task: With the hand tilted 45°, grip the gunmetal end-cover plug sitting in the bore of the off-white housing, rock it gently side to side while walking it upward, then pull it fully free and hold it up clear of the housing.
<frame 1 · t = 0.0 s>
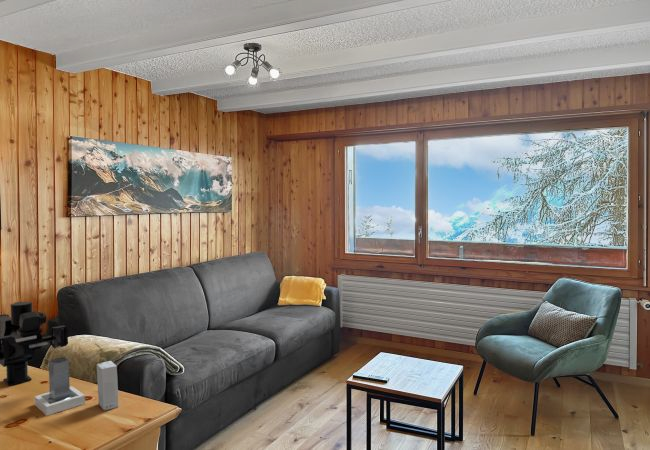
hand: (42, 348, 133), 17 cm above the table, tool horizontal, fingers open, 9 cm apart
end cover: (59, 382, 133), in the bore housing
skincare box: (107, 406, 133), on the table
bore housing: (59, 404, 133), on the table
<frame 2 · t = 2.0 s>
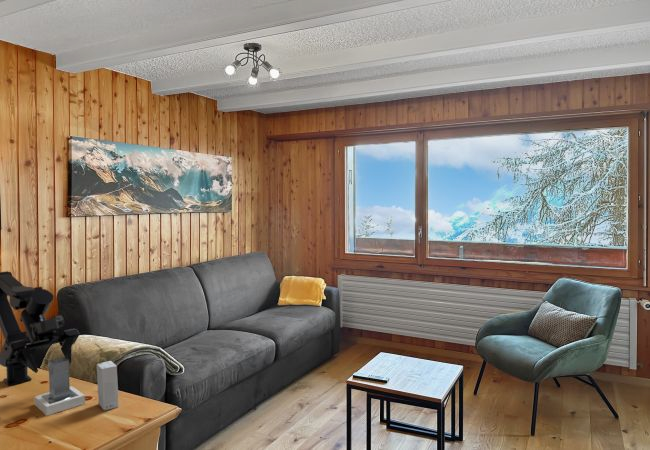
hand: (54, 367, 135), 10 cm above the table, tool tilted 45°, fingers open, 9 cm apart
nothing on the table moved.
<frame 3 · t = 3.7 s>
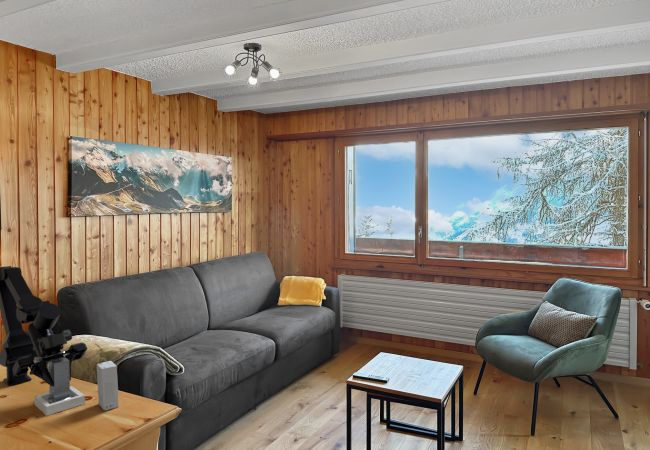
hand: (61, 383, 132), 7 cm above the table, tool tilted 45°, fingers closed on end cover, 4 cm apart
end cover: (59, 382, 133), in the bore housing, touching gripper
everything else where it was.
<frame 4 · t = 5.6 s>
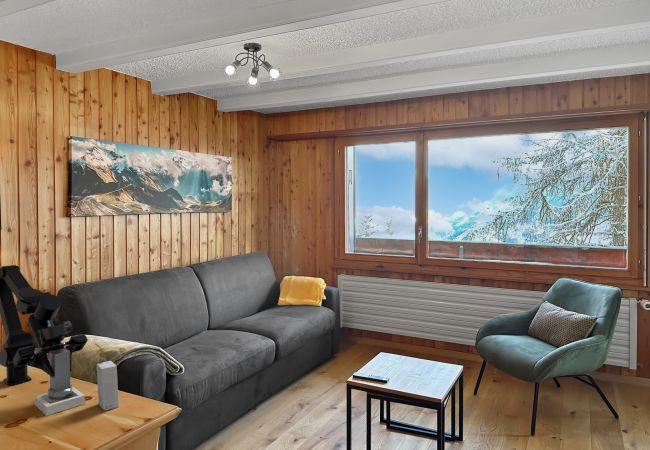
hand: (62, 374, 132), 9 cm above the table, tool tilted 45°, fingers closed on end cover, 4 cm apart
end cover: (60, 373, 133), point 9 cm above the table, touching gripper
everything else where it was.
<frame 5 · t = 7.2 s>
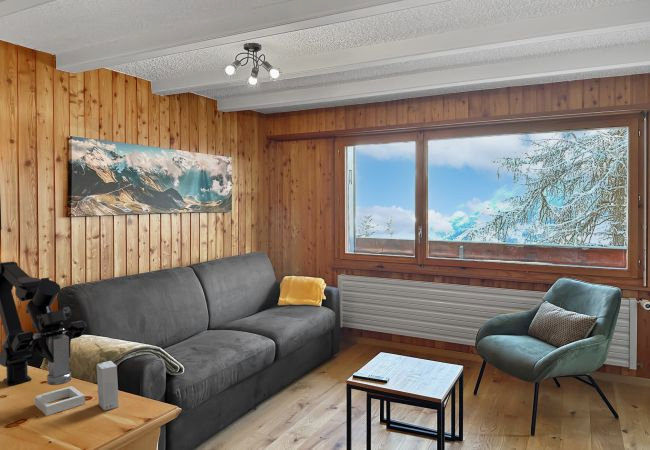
hand: (61, 359, 132), 13 cm above the table, tool tilted 45°, fingers closed on end cover, 4 cm apart
end cover: (59, 358, 133), point 13 cm above the table, touching gripper
everything else where it was.
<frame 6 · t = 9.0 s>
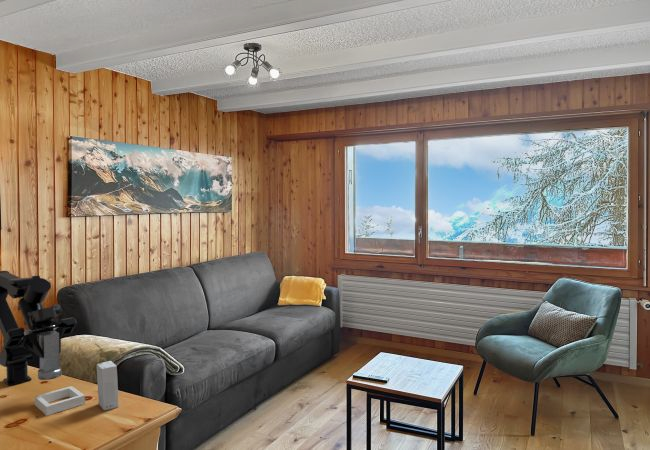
hand: (51, 355, 135), 14 cm above the table, tool tilted 45°, fingers closed on end cover, 4 cm apart
end cover: (49, 354, 136), point 13 cm above the table, touching gripper
everything else where it was.
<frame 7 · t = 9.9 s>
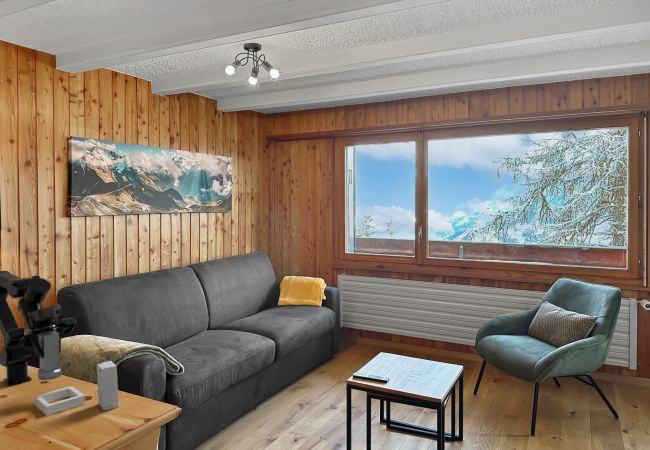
hand: (51, 355, 135), 14 cm above the table, tool tilted 45°, fingers closed on end cover, 4 cm apart
end cover: (49, 354, 136), point 13 cm above the table, touching gripper
everything else where it was.
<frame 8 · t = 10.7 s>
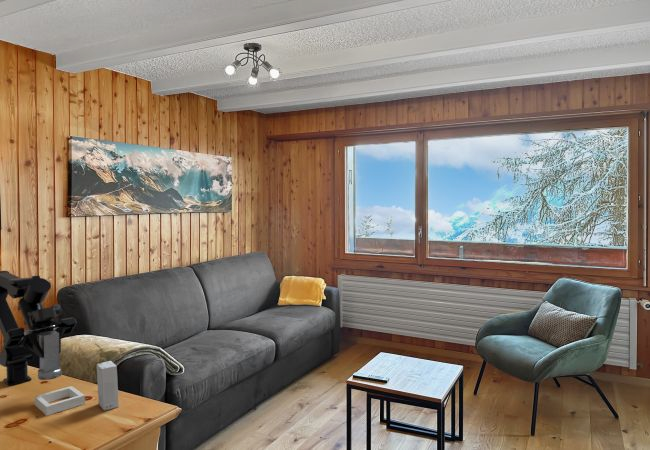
hand: (51, 355, 135), 14 cm above the table, tool tilted 45°, fingers closed on end cover, 4 cm apart
end cover: (49, 354, 136), point 13 cm above the table, touching gripper
everything else where it was.
at the end: the gripper is holding end cover; end cover point 13.4 cm above the table; end cover moved 9.2 cm from its start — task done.
